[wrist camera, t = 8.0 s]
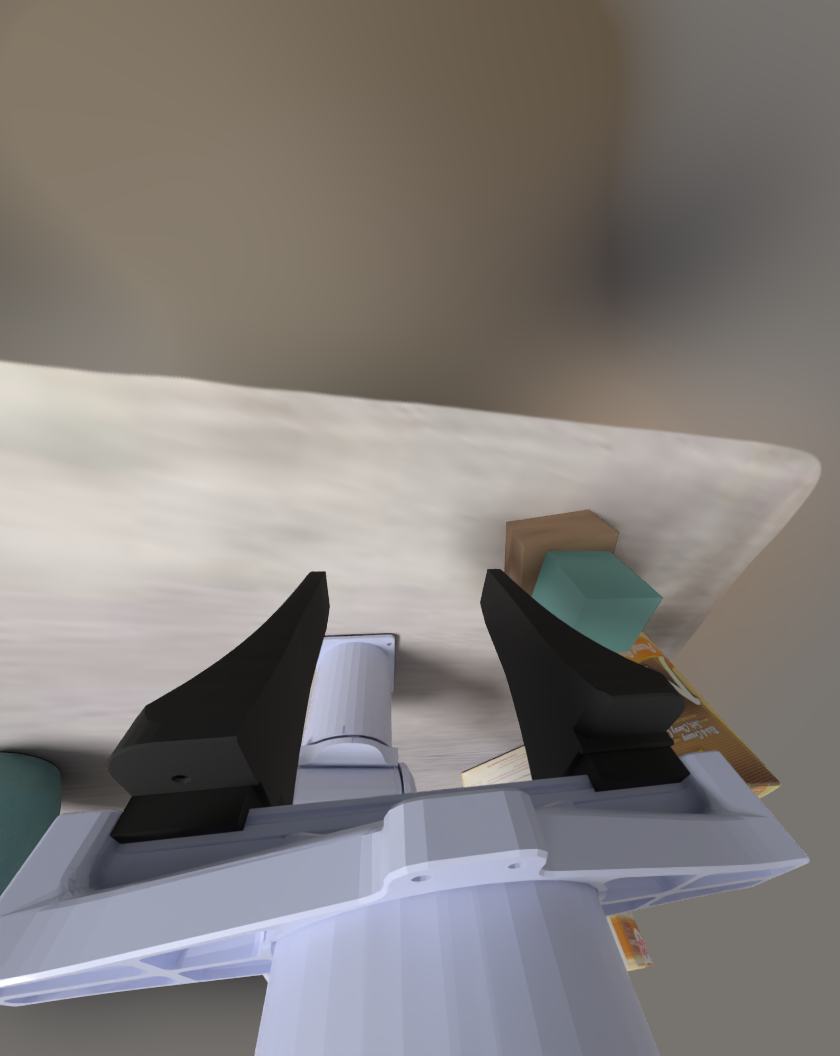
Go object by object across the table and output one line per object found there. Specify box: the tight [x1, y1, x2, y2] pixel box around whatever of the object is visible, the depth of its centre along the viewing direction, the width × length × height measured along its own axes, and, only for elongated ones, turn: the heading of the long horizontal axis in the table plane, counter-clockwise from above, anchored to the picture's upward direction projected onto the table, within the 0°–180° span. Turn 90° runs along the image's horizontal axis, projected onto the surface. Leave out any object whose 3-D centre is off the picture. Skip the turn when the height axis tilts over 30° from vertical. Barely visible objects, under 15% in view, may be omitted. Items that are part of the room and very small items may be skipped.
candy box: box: [616, 632, 781, 799], centre depth 24 cm, size 9×4×15 cm, turn 81°
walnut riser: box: [504, 510, 619, 597], centre depth 25 cm, size 7×7×4 cm
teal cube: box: [532, 551, 663, 652], centre depth 21 cm, size 5×5×5 cm
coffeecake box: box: [461, 746, 653, 972], centre depth 39 cm, size 15×7×20 cm, turn 127°
